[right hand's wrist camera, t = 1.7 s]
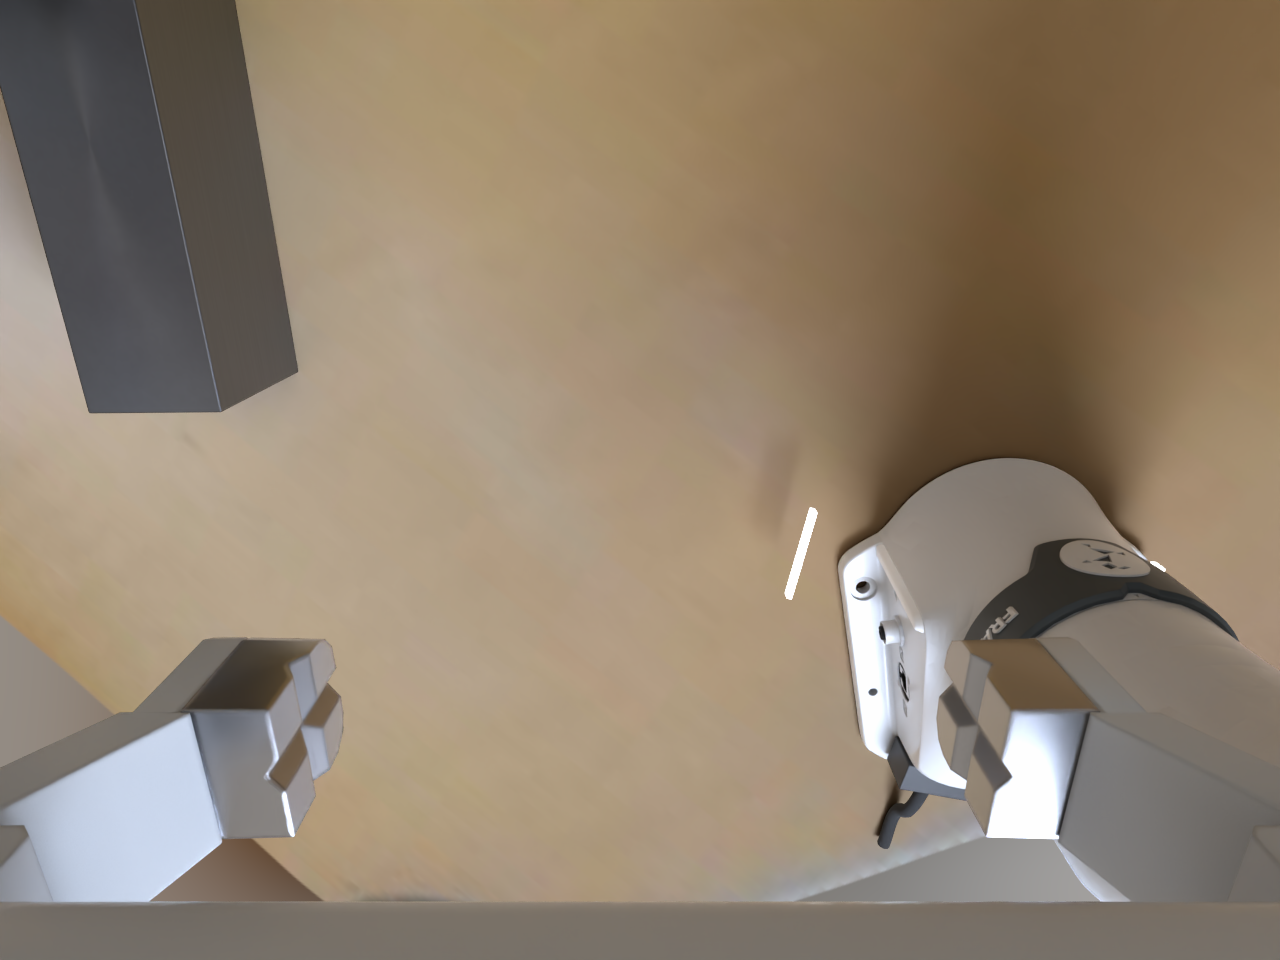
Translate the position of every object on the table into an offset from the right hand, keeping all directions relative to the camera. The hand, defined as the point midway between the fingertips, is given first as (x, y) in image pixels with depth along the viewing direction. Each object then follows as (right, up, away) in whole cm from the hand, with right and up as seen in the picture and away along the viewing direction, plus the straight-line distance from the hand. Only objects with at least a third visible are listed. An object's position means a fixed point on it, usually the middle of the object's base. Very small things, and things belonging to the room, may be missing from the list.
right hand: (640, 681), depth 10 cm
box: (-23, +20, +31) cm, 43 cm away
